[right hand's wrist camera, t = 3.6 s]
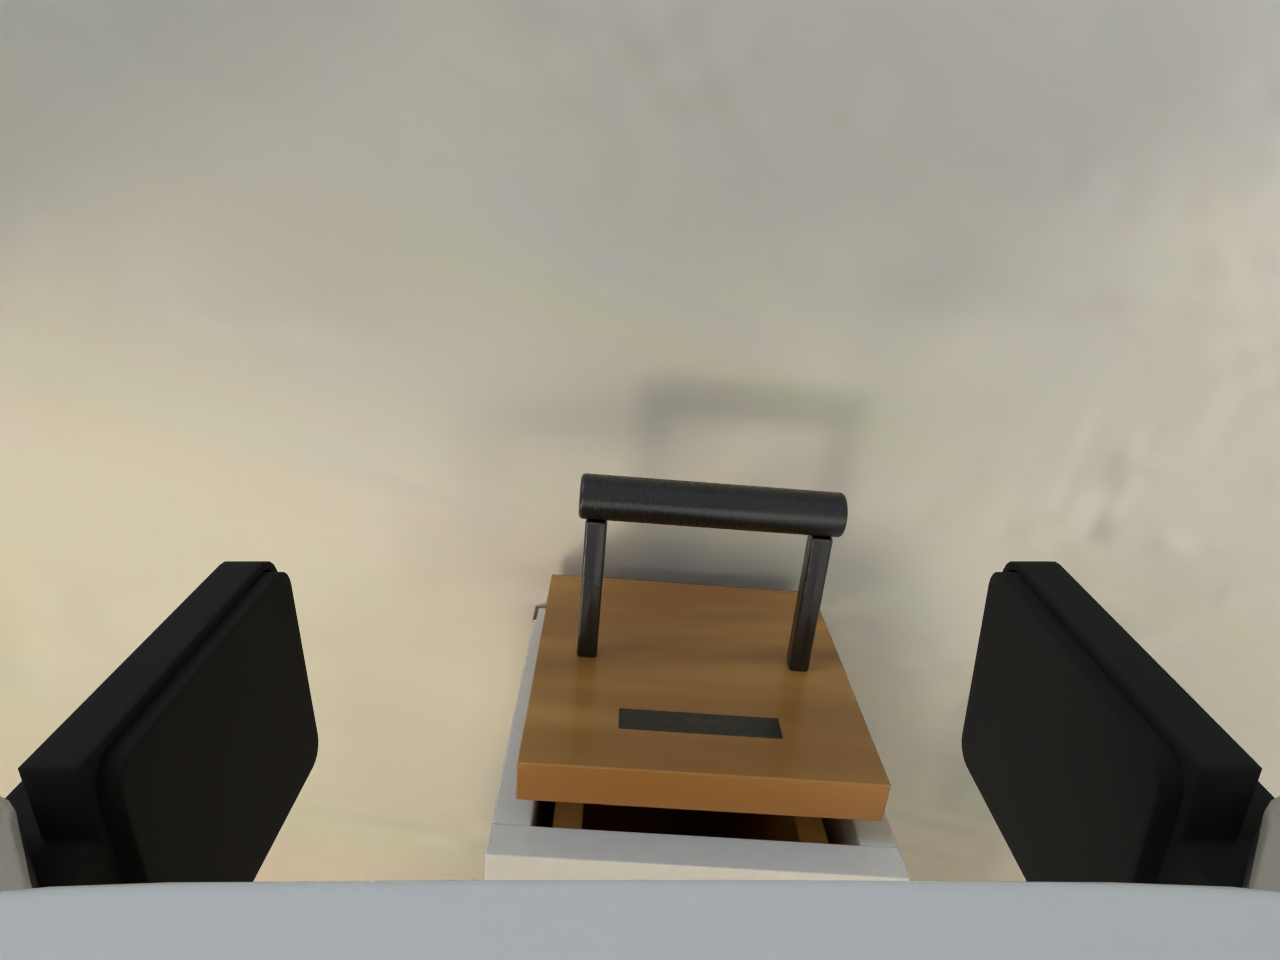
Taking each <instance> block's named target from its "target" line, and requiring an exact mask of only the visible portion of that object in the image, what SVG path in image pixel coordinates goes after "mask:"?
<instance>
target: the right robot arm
mask: <svg viewBox="0 0 1280 960" xmlns="http://www.w3.org/2000/svg"><path fill="white" fill-rule="evenodd" d="M317 751H318V734H317V728H316V722H315V717H314V711H313V705H312V700H311V694H310V688H309V683H308V677H307V671H306V666H305V660H304V654H303V649H302V643H301V637H300V632H299V626H298V620H297V615H296V609H295V604H294V598H293V592H292V587H291V582H290V578H289V577H288V575H287V574H286V573H285V572H277V570H276V568H275V566H274V564H272V563H271V562H224V563H222V564H221V565H219V566H218V567H217V568H216V569H215V570H214V571H213V572H212V573H211V574H210V575H209V576H208V577H207V578H206V579H205V580H204V581H203V582H202V583H201V584H200V585H199V586H198V588H197V589H196V590H195V591H194V592H193V593H192V594H191V595H190V596H189V597H188V598H187V599H186V600H185V601H184V602H183V603H182V604H181V605H180V606H179V607H178V608H177V609H176V610H175V611H174V612H173V613H172V614H171V615H170V616H169V617H168V618H167V619H166V620H165V621H164V622H163V623H162V624H161V625H160V626H159V627H158V628H157V629H156V630H155V631H154V632H153V633H152V634H151V635H150V636H149V637H148V638H147V639H146V640H145V641H144V642H143V643H142V644H141V645H140V646H139V647H138V648H137V649H136V650H135V651H134V652H133V653H132V654H131V655H130V656H129V657H128V658H127V659H126V660H125V661H124V662H123V663H122V664H121V665H120V666H119V667H118V668H117V669H116V670H115V671H114V672H113V673H112V674H111V675H110V676H109V677H108V678H107V679H106V680H105V681H104V682H103V683H102V684H101V685H100V686H99V687H98V688H97V689H96V690H95V691H94V692H93V693H92V694H91V695H90V696H89V697H88V698H87V699H86V700H85V701H84V702H83V703H82V704H81V705H80V706H79V707H78V708H77V709H76V710H75V711H74V712H73V713H72V714H71V716H70V717H69V718H68V719H67V720H66V721H65V722H64V723H63V724H62V725H61V726H60V727H59V728H58V729H57V730H56V731H55V732H54V733H53V734H52V735H51V736H50V737H49V738H48V739H47V740H46V741H45V742H44V743H43V744H42V745H41V746H40V747H39V748H38V749H37V750H36V751H35V752H34V753H33V754H32V755H31V756H30V757H29V758H28V759H27V760H26V761H25V762H24V763H23V764H22V765H21V766H20V767H19V768H18V770H19V773H20V776H21V779H22V782H21V783H20V784H19V785H18V786H17V787H16V788H15V789H14V790H13V791H12V792H11V793H10V794H9V795H8V796H7V797H6V798H2V797H0V960H1280V797H1278V798H1274V797H1273V796H1272V795H1271V794H1270V793H1269V792H1268V791H1267V790H1266V789H1265V788H1264V787H1263V786H1262V785H1261V784H1260V783H1259V782H1258V779H1259V776H1260V773H1261V770H1262V768H1261V767H1260V766H1259V765H1258V764H1257V763H1256V762H1255V761H1254V760H1253V759H1252V758H1251V757H1250V756H1249V755H1248V754H1247V753H1246V752H1245V751H1244V750H1243V749H1242V748H1241V747H1240V746H1239V745H1238V744H1237V743H1236V742H1235V741H1234V740H1233V739H1232V738H1231V737H1230V736H1229V735H1228V734H1227V733H1226V732H1225V731H1224V730H1223V729H1222V728H1221V727H1220V726H1219V725H1218V724H1217V723H1216V722H1215V721H1214V720H1213V719H1212V718H1211V717H1210V716H1209V714H1208V713H1207V712H1206V711H1205V710H1204V709H1203V708H1202V707H1201V706H1200V705H1199V704H1198V703H1197V702H1196V701H1195V700H1194V699H1193V698H1192V697H1191V696H1190V695H1189V694H1188V693H1187V692H1186V691H1185V690H1184V689H1183V688H1182V687H1181V686H1180V685H1179V684H1178V683H1177V682H1176V681H1175V680H1174V679H1173V678H1172V677H1171V676H1170V675H1169V674H1168V673H1167V672H1166V671H1165V670H1164V669H1163V668H1162V667H1161V666H1160V665H1159V664H1158V663H1157V662H1156V661H1155V660H1154V659H1153V658H1152V657H1151V656H1150V655H1149V654H1148V653H1147V652H1146V651H1145V650H1144V649H1143V648H1142V647H1141V646H1140V645H1139V644H1138V643H1137V642H1136V641H1135V640H1134V639H1133V638H1132V637H1131V636H1130V635H1129V634H1128V633H1127V632H1126V631H1125V630H1124V629H1123V628H1122V627H1121V626H1120V625H1119V624H1118V623H1117V622H1116V621H1115V620H1114V619H1113V618H1112V617H1111V616H1110V615H1109V614H1108V613H1107V612H1106V611H1105V610H1104V609H1103V608H1102V607H1101V606H1100V605H1099V604H1098V603H1097V602H1096V601H1095V600H1094V599H1093V598H1092V597H1091V596H1090V595H1089V594H1088V593H1087V592H1086V591H1085V590H1084V589H1083V588H1082V586H1081V585H1080V584H1079V583H1078V582H1077V581H1076V580H1075V579H1074V578H1073V577H1072V576H1071V575H1070V574H1069V573H1068V572H1067V571H1066V570H1065V569H1064V568H1063V567H1062V566H1061V565H1059V564H1058V563H1056V562H1009V563H1008V564H1006V566H1005V568H1004V570H1003V572H995V573H994V574H993V575H992V577H991V578H990V582H989V587H988V592H987V598H986V603H985V609H984V615H983V620H982V626H981V632H980V637H979V643H978V649H977V654H976V660H975V666H974V671H973V677H972V683H971V688H970V694H969V700H968V705H967V711H966V717H965V722H964V728H963V734H962V751H963V757H964V760H965V763H966V766H967V768H968V770H969V772H970V774H971V775H972V777H973V779H974V781H975V783H976V785H977V787H978V789H979V791H980V793H981V795H982V796H983V798H984V800H985V802H986V804H987V806H988V808H989V810H990V812H991V814H992V816H993V818H994V819H995V821H996V823H997V825H998V827H999V829H1000V831H1001V833H1002V835H1003V837H1004V839H1005V840H1006V842H1007V844H1008V846H1009V848H1010V850H1011V852H1012V854H1013V856H1014V858H1015V860H1016V862H1017V863H1018V865H1019V867H1020V869H1021V871H1022V873H1023V875H1024V877H1025V879H1026V881H1027V882H996V881H854V880H423V881H299V882H253V881H254V879H255V877H256V875H257V873H258V871H259V869H260V867H261V865H262V863H263V862H264V860H265V858H266V856H267V854H268V852H269V850H270V848H271V846H272V844H273V842H274V840H275V839H276V837H277V835H278V833H279V831H280V829H281V827H282V825H283V823H284V821H285V819H286V818H287V816H288V814H289V812H290V810H291V808H292V806H293V804H294V802H295V800H296V798H297V796H298V795H299V793H300V791H301V789H302V787H303V785H304V783H305V781H306V779H307V777H308V775H309V774H310V772H311V770H312V768H313V766H314V763H315V760H316V757H317Z"/></svg>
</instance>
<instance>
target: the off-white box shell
mask: <svg viewBox="0 0 1280 960" xmlns="http://www.w3.org/2000/svg"><path fill="white" fill-rule="evenodd" d="M545 610H546V608H539V607H536V608H535V613H534V617H533V625H532V629H531V634H530V639H529V644H528V649H527V654H526V658H525V663H524V668H523V673H522V678H521V683H520V687H519V692H518V697H517V702H516V707H515V711H514V716H513V721H512V726H511V731H510V736H509V740H508V745H507V750H506V755H505V760H504V764H503V769H502V774H501V779H500V784H499V789H498V793H497V798H496V803H495V808H494V813H493V818H492V822H491V827H490V832H489V836H488V841H487V846H486V851H485V865H484V880H854V881H910V877H909V874H908V872H907V869H906V866H905V864H904V861H903V859H902V856H901V853H900V851H899V849H898V846H897V843H896V840H895V838H894V835H893V832H892V830H891V827H890V825H889V822H888V819H887V817H886V814H885V811H884V814H883V818H882V821H868V820H852V819H835V818H822V820H823V824H824V828H825V831H826V835H827V838H828V842H829V844H823V843H806V842H789V841H772V840H755V839H738V838H721V837H704V836H687V835H670V834H653V833H636V832H620V831H603V830H586V829H569V828H552V826H553V818H554V809H555V802H553V801H536V800H519V799H516V779H517V760H518V755H519V749H520V744H521V739H522V733H523V728H524V723H525V717H526V712H527V706H528V701H529V696H530V690H531V685H532V680H533V674H534V669H535V664H536V658H537V653H538V647H539V642H540V637H541V631H542V626H543V621H544V615H545Z"/></svg>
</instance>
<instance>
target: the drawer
mask: <svg viewBox="0 0 1280 960" xmlns="http://www.w3.org/2000/svg"><path fill="white" fill-rule="evenodd" d="M579 516H580V518H582V519H586V524H585V539H584V554H583V569H582V576H569V575H554V574H553V575H552V578H551V583H550V588H549V594H548V599H547V604H546V610H545V615H544V621H543V626H542V631H541V637H540V642H539V647H538V653H537V658H536V664H535V669H534V674H533V680H532V685H531V690H530V696H529V701H528V706H527V712H526V717H525V723H524V728H523V733H522V739H521V744H520V749H519V755H518V760H517V779H516V799H519V800H536V801H553V802H555V809H554V818H553V826H552V828H569V829H586V830H603V831H620V832H636V833H653V834H670V835H687V836H704V837H721V838H738V839H755V840H772V841H789V842H806V843H823V844H829V842H828V838H827V835H826V831H825V828H824V824H823V820H822V818H835V819H852V820H868V821H882V818H883V814H884V810H885V806H886V802H887V798H888V794H889V790H890V783H889V780H888V778H887V775H886V773H885V770H884V768H883V765H882V763H881V760H880V758H879V755H878V753H877V750H876V748H875V745H874V743H873V740H872V738H871V735H870V733H869V730H868V728H867V725H866V723H865V720H864V718H863V715H862V713H861V710H860V708H859V705H858V703H857V701H856V698H855V696H854V693H853V691H852V688H851V686H850V683H849V681H848V678H847V676H846V673H845V671H844V668H843V666H842V663H841V661H840V658H839V656H838V653H837V651H836V648H835V646H834V643H833V641H832V638H831V636H830V633H829V631H828V628H827V626H826V623H825V621H824V618H823V616H822V614H821V611H820V605H821V600H822V594H823V589H824V584H825V578H826V573H827V568H828V563H829V557H830V552H831V547H832V541H833V540H832V538H831V537H840V536H842V534H843V533H844V530H845V527H846V523H847V516H848V507H847V501H846V497H845V495H844V494H842V493H837V492H824V491H811V490H798V489H784V488H771V487H758V486H745V485H732V484H718V483H705V482H692V481H679V480H665V479H652V478H639V477H626V476H613V475H599V474H583V475H582V478H581V487H580V500H579ZM607 520H610V521H623V522H637V523H650V524H664V525H678V526H691V527H705V528H718V529H732V530H746V531H759V532H773V533H786V534H800V535H808V538H807V544H806V550H805V555H804V561H803V567H802V572H801V578H800V584H799V589H798V592H795V591H780V590H766V589H752V588H738V587H724V586H710V585H696V584H682V583H667V582H653V581H639V580H625V579H611V578H603V570H604V557H605V544H606V531H607Z"/></svg>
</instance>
